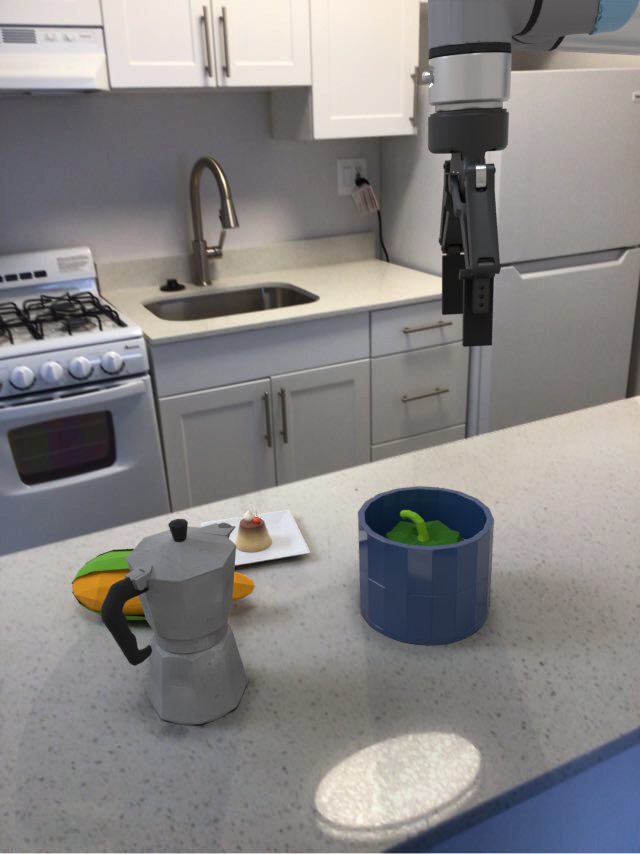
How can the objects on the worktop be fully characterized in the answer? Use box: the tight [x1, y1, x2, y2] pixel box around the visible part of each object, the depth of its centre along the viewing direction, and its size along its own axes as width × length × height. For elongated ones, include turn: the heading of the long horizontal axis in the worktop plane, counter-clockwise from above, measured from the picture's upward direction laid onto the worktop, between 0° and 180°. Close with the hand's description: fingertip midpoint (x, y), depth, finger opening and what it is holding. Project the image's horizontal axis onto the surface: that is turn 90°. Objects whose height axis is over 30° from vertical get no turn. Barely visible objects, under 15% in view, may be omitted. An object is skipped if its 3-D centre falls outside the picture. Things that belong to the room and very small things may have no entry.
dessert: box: [200, 508, 311, 567], centre depth 95 cm, size 12×12×5 cm
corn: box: [70, 547, 256, 621], centre depth 82 cm, size 7×8×20 cm
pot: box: [357, 485, 495, 646], centre depth 80 cm, size 14×14×11 cm
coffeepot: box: [100, 518, 249, 726], centre depth 67 cm, size 15×9×18 cm, turn 145°
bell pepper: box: [384, 510, 463, 546], centre depth 81 cm, size 8×8×10 cm
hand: (464, 328), depth 79 cm, fingers open, 13 cm apart
